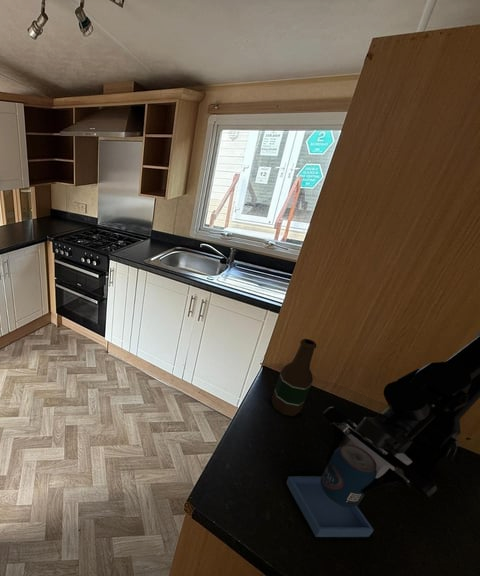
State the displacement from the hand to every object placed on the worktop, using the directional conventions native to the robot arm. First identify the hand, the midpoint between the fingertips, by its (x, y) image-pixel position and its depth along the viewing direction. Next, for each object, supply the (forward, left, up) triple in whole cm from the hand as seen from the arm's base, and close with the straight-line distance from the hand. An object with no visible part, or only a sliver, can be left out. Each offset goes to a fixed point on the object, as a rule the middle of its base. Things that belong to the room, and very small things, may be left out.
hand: (343, 476), depth 64 cm
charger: (-9, -22, -11) cm, 26 cm away
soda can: (-1, -1, -7) cm, 7 cm away
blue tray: (0, 0, -11) cm, 11 cm away
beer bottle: (+9, -28, -11) cm, 31 cm away
